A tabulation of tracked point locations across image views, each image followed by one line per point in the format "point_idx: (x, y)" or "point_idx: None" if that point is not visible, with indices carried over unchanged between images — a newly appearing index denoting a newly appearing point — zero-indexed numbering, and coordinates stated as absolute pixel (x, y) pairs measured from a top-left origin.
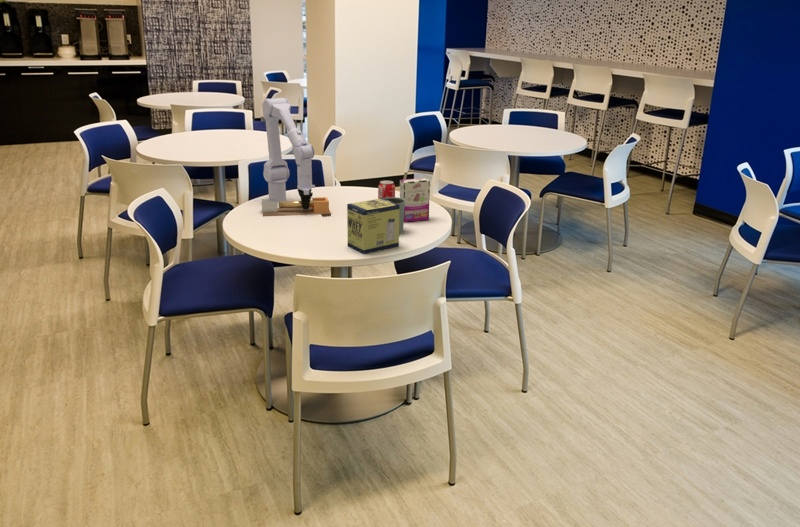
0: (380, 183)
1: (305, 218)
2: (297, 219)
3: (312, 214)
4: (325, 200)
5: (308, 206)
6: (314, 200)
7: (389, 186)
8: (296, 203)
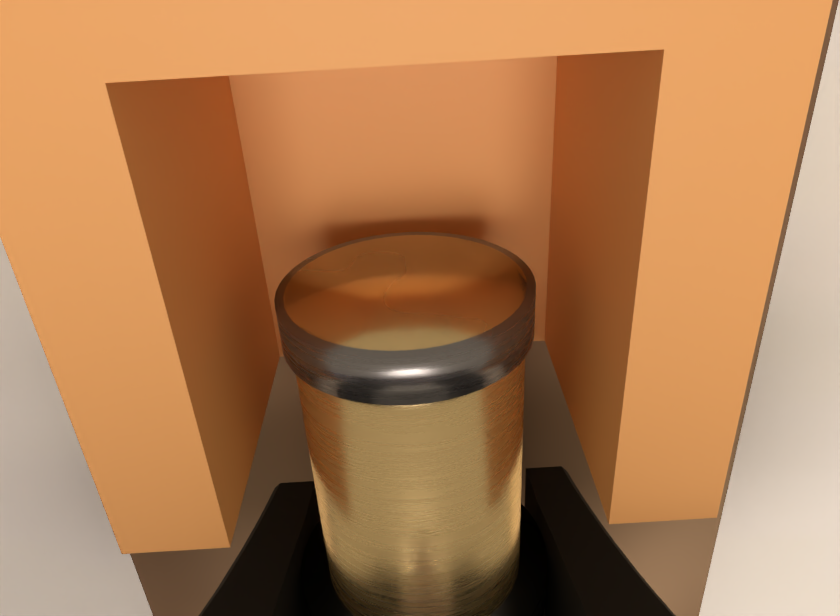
0: None
1: (790, 437)
2: (802, 543)
3: (758, 350)
4: (418, 53)
5: (594, 519)
6: (431, 479)
7: None
8: None
